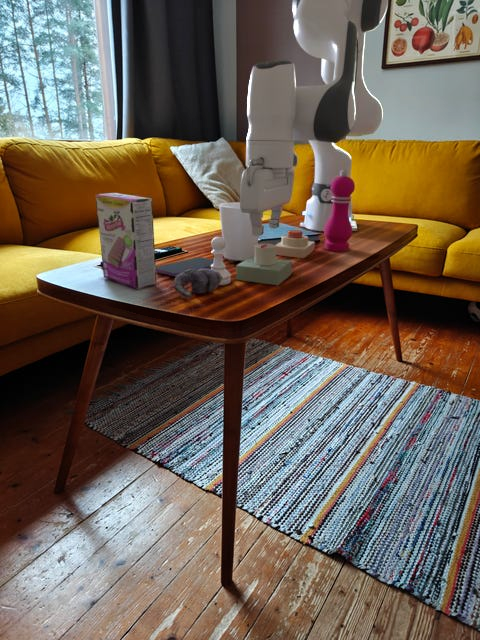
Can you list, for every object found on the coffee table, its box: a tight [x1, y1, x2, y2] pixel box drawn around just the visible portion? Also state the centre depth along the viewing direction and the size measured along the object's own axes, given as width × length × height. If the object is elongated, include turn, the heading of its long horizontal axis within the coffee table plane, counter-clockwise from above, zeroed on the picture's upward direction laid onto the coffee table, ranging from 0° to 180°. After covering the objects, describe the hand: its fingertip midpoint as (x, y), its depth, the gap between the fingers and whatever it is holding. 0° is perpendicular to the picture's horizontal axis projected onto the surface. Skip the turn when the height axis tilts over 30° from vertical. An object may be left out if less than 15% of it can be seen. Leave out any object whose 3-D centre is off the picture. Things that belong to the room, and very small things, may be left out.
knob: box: [254, 243, 277, 265], centre depth 91 cm, size 4×4×4 cm
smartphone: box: [156, 256, 214, 277], centre depth 98 cm, size 7×1×15 cm
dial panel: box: [235, 256, 293, 286], centre depth 93 cm, size 9×9×3 cm
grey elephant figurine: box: [173, 268, 222, 299], centre depth 82 cm, size 5×5×10 cm
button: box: [287, 229, 304, 238], centre depth 113 cm, size 4×4×2 cm
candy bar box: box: [95, 192, 157, 290], centre depth 85 cm, size 11×5×16 cm, turn 50°
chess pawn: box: [210, 236, 232, 286], centre depth 88 cm, size 5×5×9 cm
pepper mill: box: [323, 170, 356, 252], centre depth 115 cm, size 7×7×20 cm
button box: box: [275, 233, 316, 259], centre depth 114 cm, size 10×8×4 cm
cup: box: [218, 201, 260, 264], centre depth 103 cm, size 10×10×13 cm
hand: (266, 231), depth 90 cm, fingers open, 8 cm apart
